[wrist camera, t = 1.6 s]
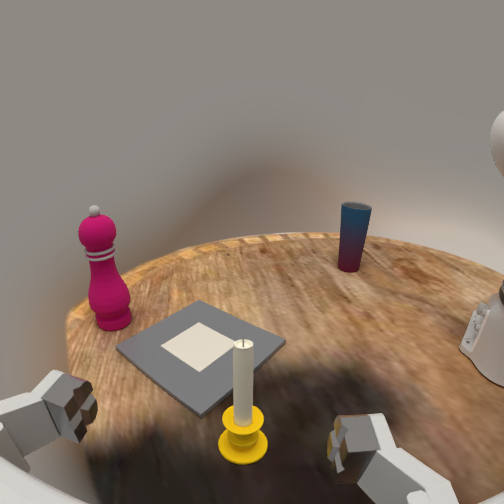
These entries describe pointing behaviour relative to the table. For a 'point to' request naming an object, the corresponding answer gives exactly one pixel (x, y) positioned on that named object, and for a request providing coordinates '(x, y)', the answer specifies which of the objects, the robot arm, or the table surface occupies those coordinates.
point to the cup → (352, 234)
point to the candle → (243, 412)
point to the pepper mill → (104, 272)
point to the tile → (196, 354)
